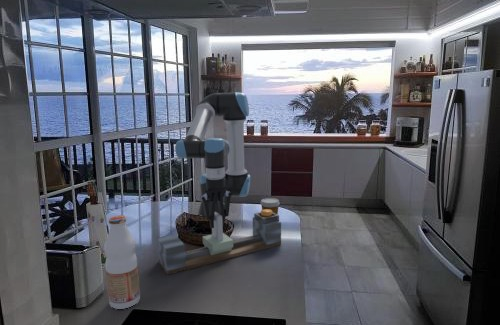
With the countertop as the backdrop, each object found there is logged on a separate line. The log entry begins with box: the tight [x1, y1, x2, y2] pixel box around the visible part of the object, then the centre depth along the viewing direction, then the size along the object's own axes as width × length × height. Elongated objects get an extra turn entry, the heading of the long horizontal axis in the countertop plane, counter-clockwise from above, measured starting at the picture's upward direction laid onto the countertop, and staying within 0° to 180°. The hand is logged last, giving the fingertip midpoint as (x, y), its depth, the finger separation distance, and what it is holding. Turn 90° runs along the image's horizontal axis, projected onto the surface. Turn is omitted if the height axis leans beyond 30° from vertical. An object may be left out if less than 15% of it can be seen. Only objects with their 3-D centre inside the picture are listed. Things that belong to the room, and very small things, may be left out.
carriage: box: [202, 212, 234, 255], centre depth 146 cm, size 10×9×15 cm
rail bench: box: [156, 211, 282, 275], centre depth 148 cm, size 12×50×12 cm, turn 120°
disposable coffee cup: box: [260, 197, 281, 215], centre depth 180 cm, size 10×10×12 cm
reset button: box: [260, 209, 272, 218], centre depth 157 cm, size 5×5×2 cm
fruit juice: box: [103, 215, 141, 310], centre depth 112 cm, size 9×9×28 cm
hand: (217, 234), depth 146 cm, fingers closed on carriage, 2 cm apart
